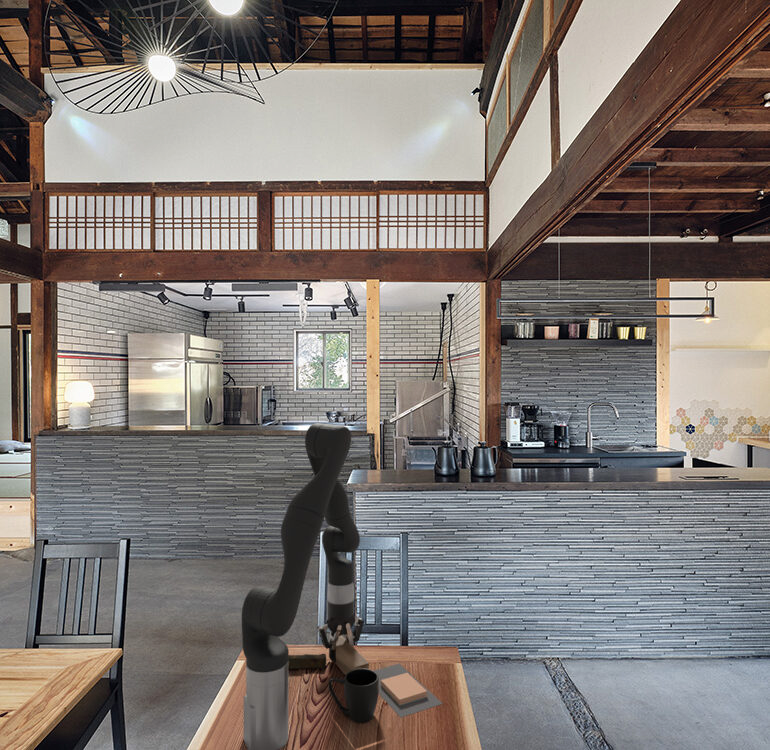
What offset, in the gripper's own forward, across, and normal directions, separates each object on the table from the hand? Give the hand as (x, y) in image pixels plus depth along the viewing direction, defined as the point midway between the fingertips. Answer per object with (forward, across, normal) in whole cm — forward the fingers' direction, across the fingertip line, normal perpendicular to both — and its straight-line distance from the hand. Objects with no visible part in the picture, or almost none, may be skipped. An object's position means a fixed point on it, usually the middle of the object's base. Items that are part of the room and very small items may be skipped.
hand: (341, 658), depth 151 cm
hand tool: (+3, -13, +5) cm, 14 cm away
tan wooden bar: (0, 0, -5) cm, 5 cm away
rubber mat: (+2, +9, -18) cm, 20 cm away
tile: (+1, +9, -15) cm, 17 cm away
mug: (+2, -6, -23) cm, 24 cm away
